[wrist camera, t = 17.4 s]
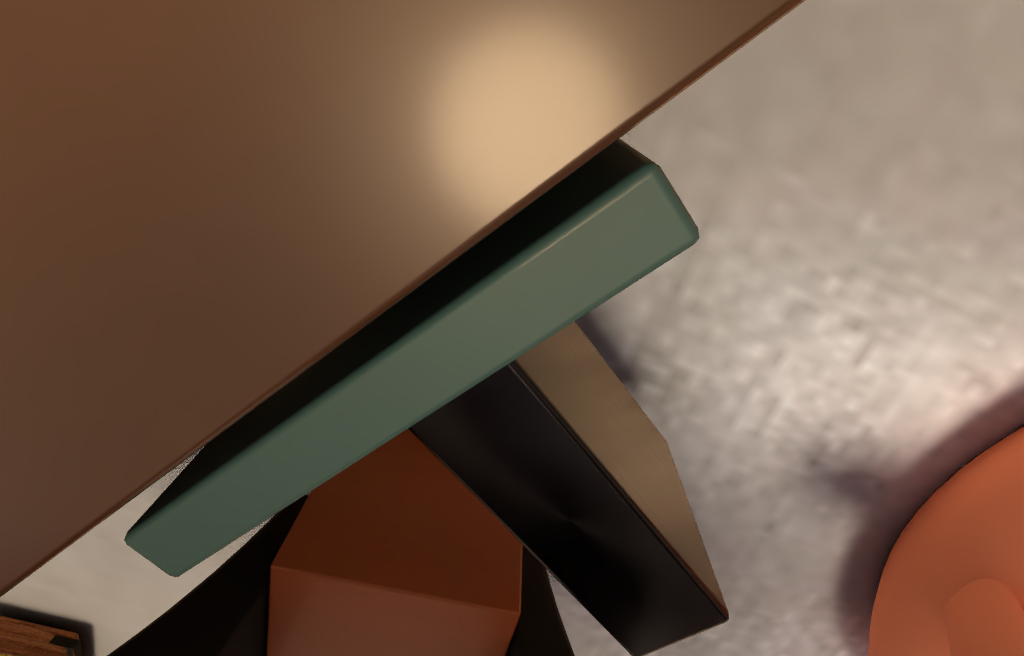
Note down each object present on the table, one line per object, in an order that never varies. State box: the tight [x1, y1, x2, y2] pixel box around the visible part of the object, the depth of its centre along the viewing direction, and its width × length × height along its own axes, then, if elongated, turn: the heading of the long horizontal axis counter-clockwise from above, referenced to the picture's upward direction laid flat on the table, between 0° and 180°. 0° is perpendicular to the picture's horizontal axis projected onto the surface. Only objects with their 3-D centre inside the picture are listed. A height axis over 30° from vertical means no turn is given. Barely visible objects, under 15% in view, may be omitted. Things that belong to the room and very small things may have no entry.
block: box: [267, 430, 523, 656], centre depth 11 cm, size 4×4×4 cm
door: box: [124, 139, 729, 656], centre depth 8 cm, size 6×5×7 cm
